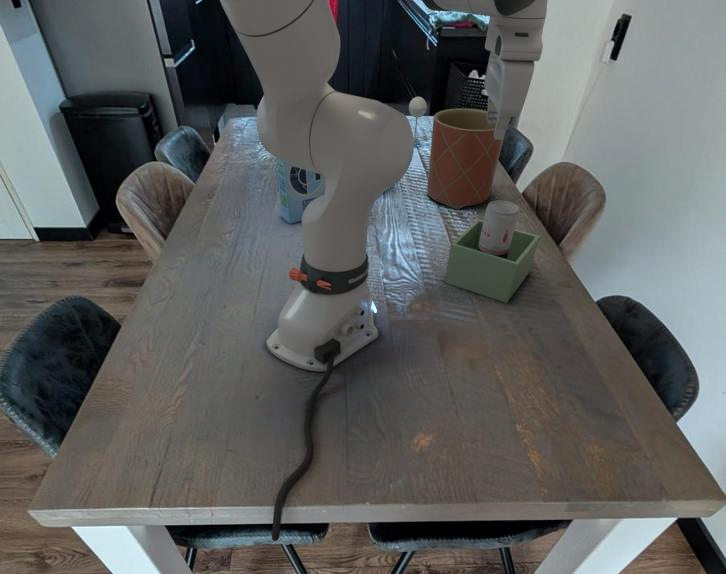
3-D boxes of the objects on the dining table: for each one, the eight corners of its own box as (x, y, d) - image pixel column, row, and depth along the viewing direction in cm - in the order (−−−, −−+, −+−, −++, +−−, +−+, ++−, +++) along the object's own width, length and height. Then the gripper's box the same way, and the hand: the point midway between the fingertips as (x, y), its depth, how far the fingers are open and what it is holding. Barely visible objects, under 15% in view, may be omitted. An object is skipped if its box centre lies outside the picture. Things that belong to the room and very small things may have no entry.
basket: (506, 303, 101) (517, 264, 94) (444, 282, 106) (450, 244, 99) (528, 273, 109) (540, 236, 103) (470, 255, 114) (477, 218, 108)
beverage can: (498, 265, 109) (515, 200, 98) (505, 281, 105) (523, 214, 94) (470, 265, 109) (484, 199, 98) (476, 280, 105) (491, 213, 94)
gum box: (343, 201, 133) (342, 108, 117) (352, 208, 131) (353, 113, 114) (280, 217, 126) (270, 119, 109) (289, 225, 123) (280, 125, 106)
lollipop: (402, 145, 167) (406, 95, 156) (416, 143, 169) (421, 93, 158) (410, 150, 163) (415, 100, 152) (425, 148, 165) (431, 98, 154)
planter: (457, 179, 147) (470, 104, 132) (504, 200, 137) (523, 122, 122) (411, 192, 139) (418, 114, 124) (456, 216, 129) (470, 135, 114)
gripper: (486, 26, 86) (471, 113, 96) (503, 48, 72) (484, 147, 82) (520, 28, 86) (502, 115, 96) (545, 50, 72) (520, 149, 82)
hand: (494, 130), depth 89 cm, fingers open, 8 cm apart
